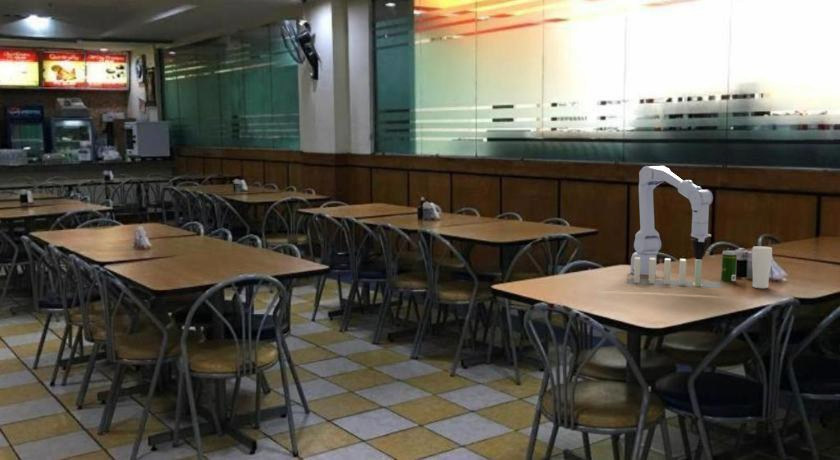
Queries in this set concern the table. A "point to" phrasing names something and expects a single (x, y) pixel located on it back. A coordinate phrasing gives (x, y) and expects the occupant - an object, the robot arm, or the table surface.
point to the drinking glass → (761, 266)
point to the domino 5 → (698, 272)
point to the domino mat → (676, 283)
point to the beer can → (728, 266)
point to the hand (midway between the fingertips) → (698, 258)
